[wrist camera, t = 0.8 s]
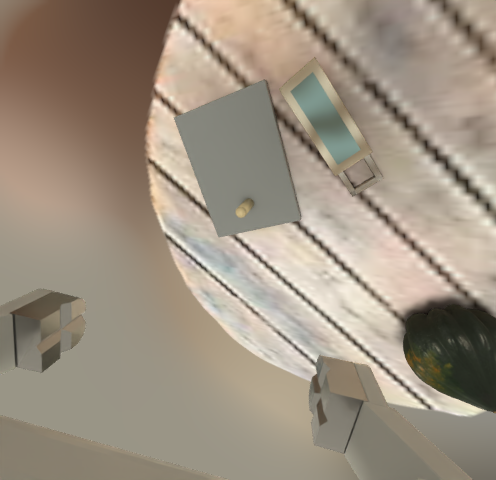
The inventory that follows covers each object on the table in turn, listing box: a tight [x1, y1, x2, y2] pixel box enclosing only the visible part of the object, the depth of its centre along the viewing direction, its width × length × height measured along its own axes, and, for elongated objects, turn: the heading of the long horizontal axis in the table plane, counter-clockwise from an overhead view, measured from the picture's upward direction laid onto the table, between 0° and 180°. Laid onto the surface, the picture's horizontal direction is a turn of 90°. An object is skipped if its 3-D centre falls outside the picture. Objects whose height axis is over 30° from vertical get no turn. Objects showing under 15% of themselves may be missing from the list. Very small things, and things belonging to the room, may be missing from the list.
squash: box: [403, 304, 496, 413], centre depth 43 cm, size 14×15×15 cm
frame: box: [279, 57, 383, 196], centre depth 38 cm, size 19×6×5 cm, turn 38°
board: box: [174, 80, 301, 237], centre depth 42 cm, size 16×22×7 cm
